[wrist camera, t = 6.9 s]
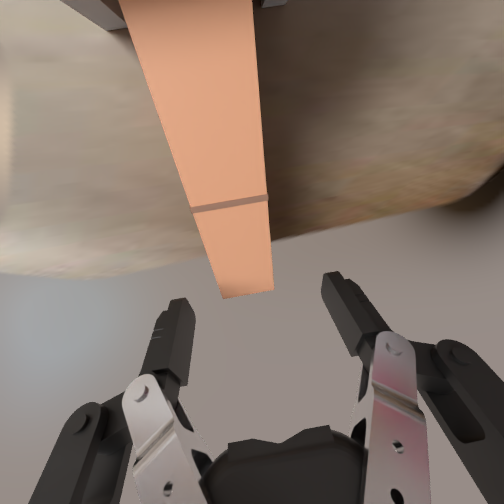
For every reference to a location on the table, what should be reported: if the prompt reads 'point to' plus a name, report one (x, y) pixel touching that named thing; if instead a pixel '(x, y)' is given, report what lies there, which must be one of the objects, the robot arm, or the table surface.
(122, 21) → the block
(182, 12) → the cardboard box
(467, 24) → the table surface
